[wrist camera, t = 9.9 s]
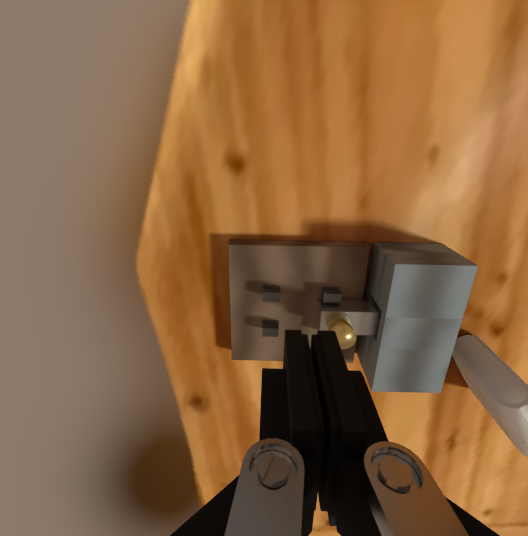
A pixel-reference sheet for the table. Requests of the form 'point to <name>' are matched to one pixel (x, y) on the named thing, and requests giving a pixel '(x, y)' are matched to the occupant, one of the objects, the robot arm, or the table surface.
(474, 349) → the photo printer
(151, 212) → the table surface
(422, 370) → the frame
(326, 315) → the bolt
